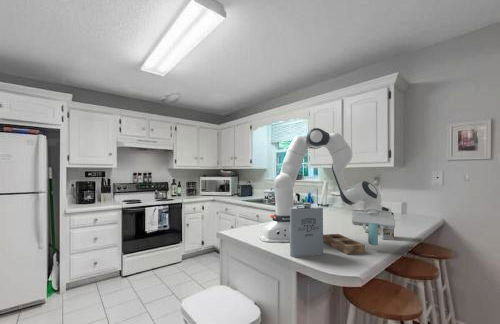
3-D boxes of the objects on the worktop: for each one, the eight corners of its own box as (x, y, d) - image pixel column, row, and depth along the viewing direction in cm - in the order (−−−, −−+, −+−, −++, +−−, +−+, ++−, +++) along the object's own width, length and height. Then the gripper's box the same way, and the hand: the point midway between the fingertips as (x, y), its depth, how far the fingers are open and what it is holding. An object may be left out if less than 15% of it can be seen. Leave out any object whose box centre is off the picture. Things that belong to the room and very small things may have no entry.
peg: (372, 245, 116) (372, 225, 117) (366, 242, 121) (366, 223, 121) (379, 244, 117) (379, 224, 118) (373, 242, 122) (373, 222, 122)
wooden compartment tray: (347, 254, 113) (347, 246, 113) (323, 241, 134) (323, 234, 134) (364, 253, 115) (364, 245, 115) (338, 240, 137) (338, 233, 137)
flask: (293, 258, 108) (293, 203, 109) (288, 254, 112) (288, 202, 113) (325, 254, 113) (325, 202, 114) (320, 251, 117) (319, 201, 119)
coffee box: (394, 240, 139) (394, 212, 140) (382, 239, 140) (382, 212, 141) (388, 236, 148) (388, 210, 149) (377, 235, 149) (377, 210, 150)
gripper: (351, 206, 131) (350, 227, 121) (394, 209, 121) (396, 232, 112) (352, 212, 134) (351, 233, 125) (393, 216, 125) (395, 239, 116)
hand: (373, 233), depth 119 cm, fingers closed on peg, 4 cm apart
